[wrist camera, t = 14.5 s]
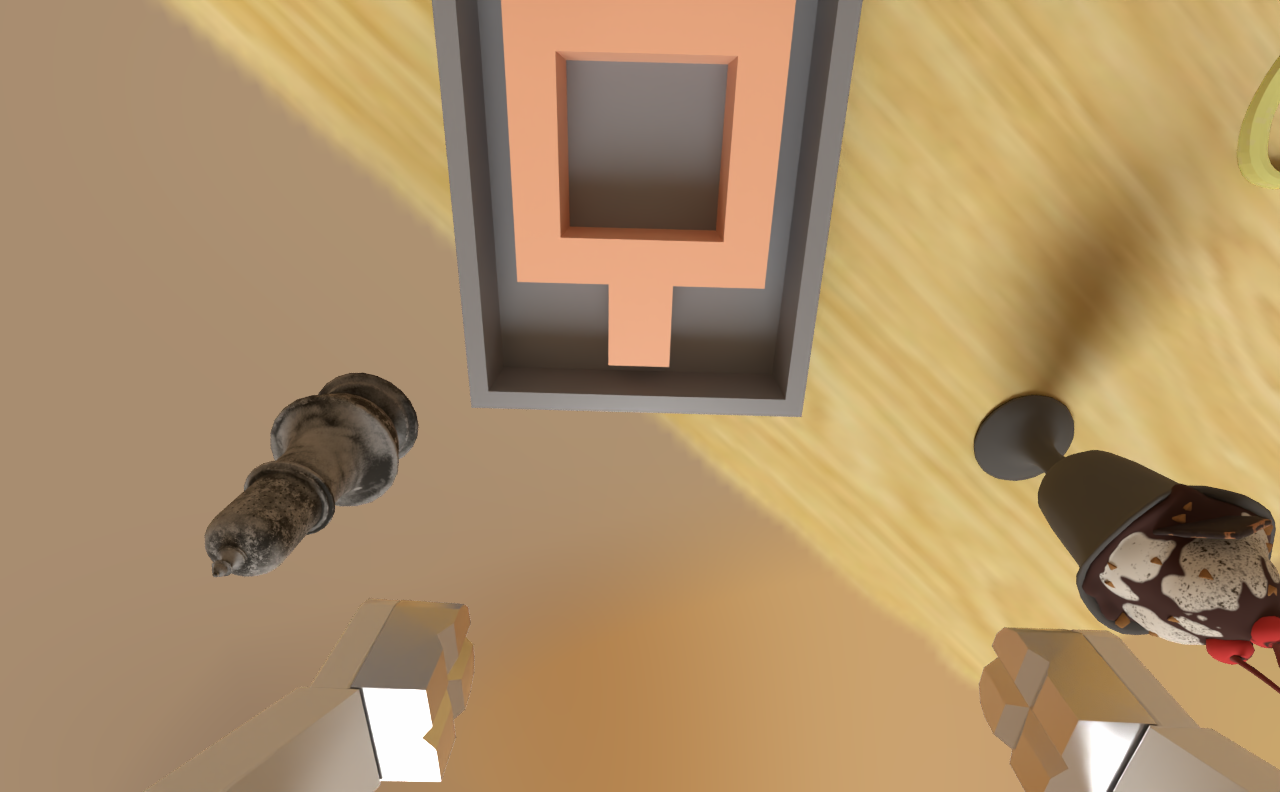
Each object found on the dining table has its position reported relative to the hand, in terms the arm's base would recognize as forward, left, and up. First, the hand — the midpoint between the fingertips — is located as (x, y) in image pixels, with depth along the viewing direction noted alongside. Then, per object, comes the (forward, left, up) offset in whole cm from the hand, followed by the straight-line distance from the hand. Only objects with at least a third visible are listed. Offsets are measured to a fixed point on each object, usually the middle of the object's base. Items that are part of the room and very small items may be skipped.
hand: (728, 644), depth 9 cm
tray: (+2, -5, -21) cm, 22 cm away
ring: (+2, -5, -20) cm, 21 cm away
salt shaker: (+16, +7, -21) cm, 27 cm away
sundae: (-18, +7, -21) cm, 29 cm away
